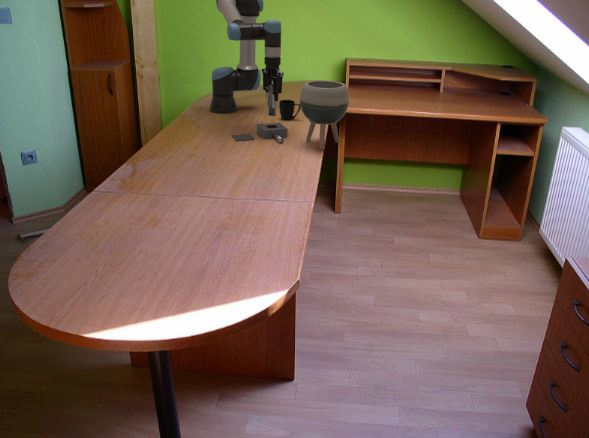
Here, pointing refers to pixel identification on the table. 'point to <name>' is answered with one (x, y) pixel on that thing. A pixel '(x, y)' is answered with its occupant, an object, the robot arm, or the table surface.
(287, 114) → the mug
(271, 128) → the block
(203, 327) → the table surface
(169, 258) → the table surface
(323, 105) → the planter
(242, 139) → the mat
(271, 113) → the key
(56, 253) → the table surface
